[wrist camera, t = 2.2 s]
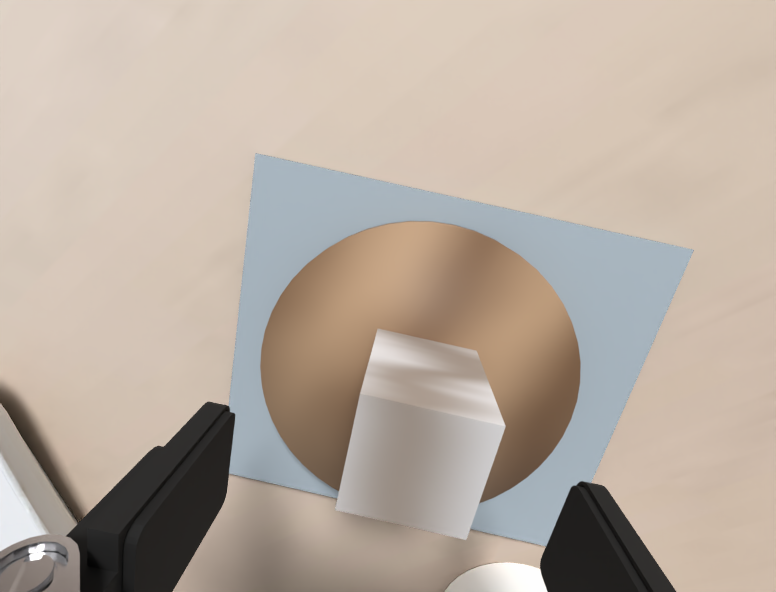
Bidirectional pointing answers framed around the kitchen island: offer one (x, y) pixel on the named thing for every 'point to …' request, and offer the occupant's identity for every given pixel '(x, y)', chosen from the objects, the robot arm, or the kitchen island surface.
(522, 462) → the lid
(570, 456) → the mat
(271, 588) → the kitchen island surface
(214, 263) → the kitchen island surface
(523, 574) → the cylindrical container
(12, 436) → the salad plate
